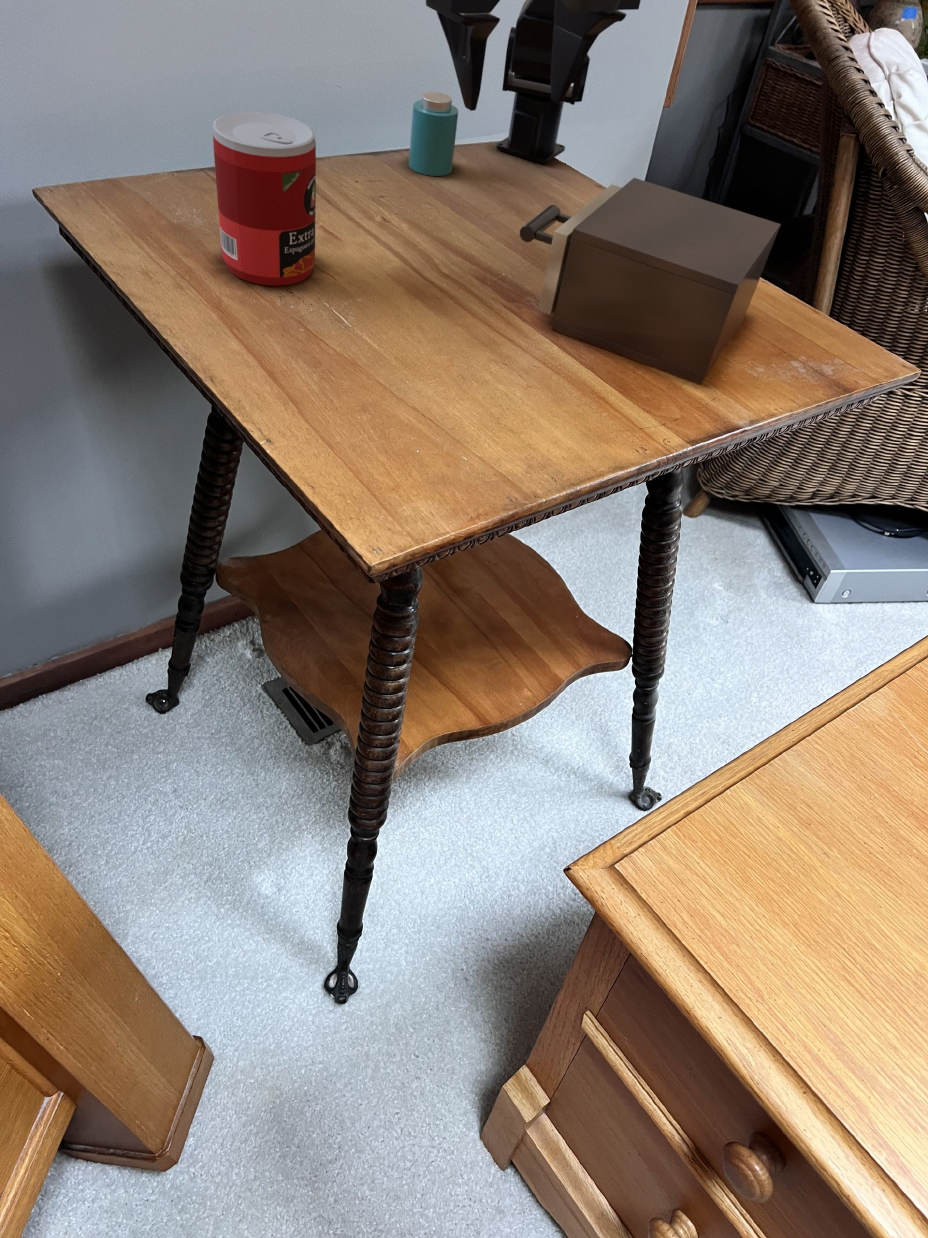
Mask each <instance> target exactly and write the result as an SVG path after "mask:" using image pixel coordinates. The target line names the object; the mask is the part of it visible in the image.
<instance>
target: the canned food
mask: <svg viewBox="0 0 928 1238" xmlns="http://www.w3.org/2000/svg"><path fill="white" fill-rule="evenodd" d="M212 140H213V141H212V142H213V143H212V144H213V158H214V159H213V160H214V168H215V172H214V173H215V183H216V195H217V196H216V197H217V207H218V219H219V220H218V221H219V232H220V233H219V234H220V247H221V255H222V260H223V262H224V264H225V267H226V268H227V270H228V271H229V272H230V274H232V275H234V276H236V277H237V278H239V279H240V280H243V281H245V282H248V283H252V284H256V285H260V286H261V285H262V286H268V287H270V286H271V287H273V286H274V287H281V286H282V287H283V286H290V285H294V284H298V283H300V282H302V281H305V280H306V279H307V278H309V277H310V275H311V274H312V273H313V270H314V266H315V262H316V207H317V206H316V202H317V201H316V197H317V196H316V195H317V194H316V193H317V189H316V187H317V152H316V151H317V145H316V144H317V142H316V134H315V131H314V130H313V128H311V127H310V126H309V125H307V124H305V123H304V122H302V121H300V120H298V119H296V118H292V117H290V116H286V115H282V114H277V113H273V112H265V111H237V112H232V113H228V114H224V115H222V116H220V117H218V118H216V119H215V120H214V121H213V123H212Z"/></svg>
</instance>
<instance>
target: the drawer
mask: <svg viewBox="0 0 928 1238" xmlns="http://www.w3.org/2000/svg"><path fill="white" fill-rule="evenodd" d="M621 188H622V186H618V185H615V184H610V185H609V186H608V187H606V188H605V189H604V190H603V191H602V192H601V193H599V194H598V195H597V196H596V197H594V198H593V199H592V200H591V201H589V202H588V203H587V204H586V205H584V206H583V207H582V208H581V209H580V210H578V211H577V212H576V213H575V214H573V215H572V216H571V215H568V214H565V213H562V212H561V208H560V207H559V206H557V205H555V204H551V205H549V206H548V207H547V208H545V209H543V210H542V211H541V212H540V213H539V214H537V215H535V217H533V218H532V219H531V220H529V221H528V222H526V223H525V224H524V225H522V226H521V228H520V229H519V238H520V239H521V241H523V242H524V243H532V241H534V240H535V241H539V242H541V243H544V244H546V245H550V250H549V254H548V260H547V265H546V271H545V274H544V278H543V279H544V280H543V285H542V289H541V295H540V301H539V304H538V309H537V310H538V311H539V312H541V313H544V314H547V315H549V316H551V315H552V314H553V313H555V310H556V306H557V301H558V297H559V292H560V287H561V283H562V278H563V274H564V269H565V265H566V260H567V255H568V251H569V246H570V242H571V237H572V232H573V229H574V228H575V227H576V226H577V225H578V224H580V223H581V222H582V221H583V220H584V219H586V218H587V217H588V216H589V215H590V214H592V213H593V212H594V211H595V210H596V209H597V208H599V207H600V206H601V205H602V204H603V203H605V202H606V201H607V200H608V199H609V198H610V197H612V196H613V195H614V194H615V193H616V192H618V191H619V190H620V189H621ZM556 222H558V223H561V225H560V226H559V227H557V228H556V229H555V230H554V231H553V234H549V233H547V232H545V231H546V230H547V229H549V228H550V227H552V226H553V225H554V224H555V223H556Z"/></svg>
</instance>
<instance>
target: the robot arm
mask: <svg viewBox="0 0 928 1238" xmlns="http://www.w3.org/2000/svg"><path fill="white" fill-rule="evenodd" d="M500 1H501V0H425V6H426V7H427V8H430V9H431V10H433V11H435V13H436V14H437V15H436V16H437V18H438V20H439V23H440V25H441V29H442V32H443V35H444V38H445V39H446V43H447V45H448V48H449V52H450V57H451V60H452V63H453V67H454V72H455V74H456V75H455V76H456V78H457V83H458V86H459V90H460V94H461V98H462V101H463V105H464V107H465V109H467V110H469V111H471V112H473V111H476V109H477V106H478V103H479V100H480V99H479V98H480V94H481V89H482V82H483V74H484V66H485V59H486V52H487V51H486V50H487V44H488V43H487V42H488V39H489V37H490V36H491V34H492V33H493V31H494V30H495V29H496V27H497V26H498V24H499V23H500V21H501V18H500V17H498V16H496V15H494V14H491V13H492V12H493V10H494V9H495V8H496V6H497V5H498V4H499V3H500ZM641 1H642V0H525V1H524V2H523V4H522V6H521V9H520V12H519V14H518V17H517V20H516V23H515V26H511V27H510V31H509V34H508V40H507V46H506V51H505V52H506V54H505V61H504V70H503V81H502V91H503V92H512V93H514V97H513V98H514V99H513V103H512V104H513V105H512V111H511V116H510V123H509V131H508V136H507V137H506V138H504V139H502V140H500V141H499V142H497V143H496V146H495V149H497V150H499V151H502V152H505V153H509V154H512V155H515V156H518V157H521V158H524V159H526V160H527V159H528V160H530V161H533V162H537V163H540V164H547V163H549V162H550V161H552V160H553V159H555V158H556V157H557V156H559V155H560V154H562V153H564V152H565V150H566V146H565V145H563V144H560V143H557V141H558V137H559V131H560V125H561V119H562V114H563V109H564V105H565V104H564V103H567V104H569V105H572V106H575V104H576V103H582V102H583V97H584V92H585V89H586V83H587V77H588V71H589V67H590V61H591V58H590V55H589V52H590V50H591V48H592V46H593V45H594V43H595V42H596V40H597V38H598V37H599V35H600V34H602V33H603V32H604V31H605V30H607V29H608V28H610V27H611V26H613V25H614V24H616V23H619V22H623V21H624V20H625V19H626V16H627V13H626V12H623V11H632V10H633V11H634V10H635V11H636V10H639V9H640V5H641ZM572 84H573V85H572Z"/></svg>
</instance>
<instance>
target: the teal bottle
mask: <svg viewBox="0 0 928 1238" xmlns="http://www.w3.org/2000/svg"><path fill="white" fill-rule="evenodd" d="M412 104H413V105H412V117H411V130H410V143H409V153H408V155H409V156H408V167H409V168H410V169H411V170H412V171H414V172H416V173H417V174H421V175H425V176H430V177H431V176H432V177H442V176H443V177H445V176H448V175H449V174H451V173H452V171H453V164H454V155H455V147H456V138H457V129H458V128H457V127H458V120H459V109H458V108H457V106H455V105H453V98H452V97H451V96H449V95H448V94H445V93H442V92H437V91H427V92H426V91H425V92H423V93H422V94H421V98H420V100H416V101H415V102H414V103H412Z"/></svg>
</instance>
